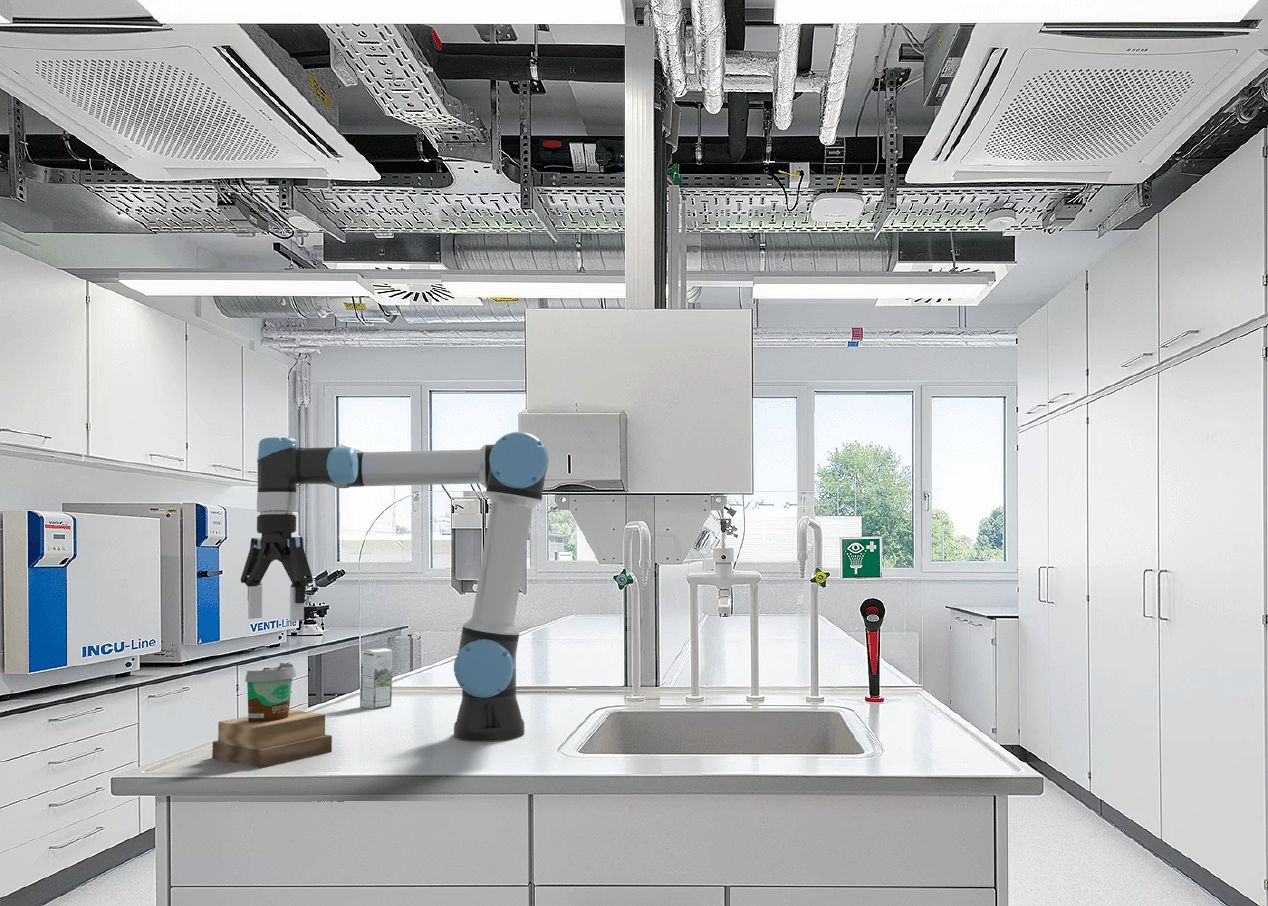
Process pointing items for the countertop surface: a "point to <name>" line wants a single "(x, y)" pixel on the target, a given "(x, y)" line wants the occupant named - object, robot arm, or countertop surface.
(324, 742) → the tower base
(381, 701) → the syrup box
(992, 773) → the countertop surface
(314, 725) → the tower top
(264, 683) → the food container
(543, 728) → the countertop surface
